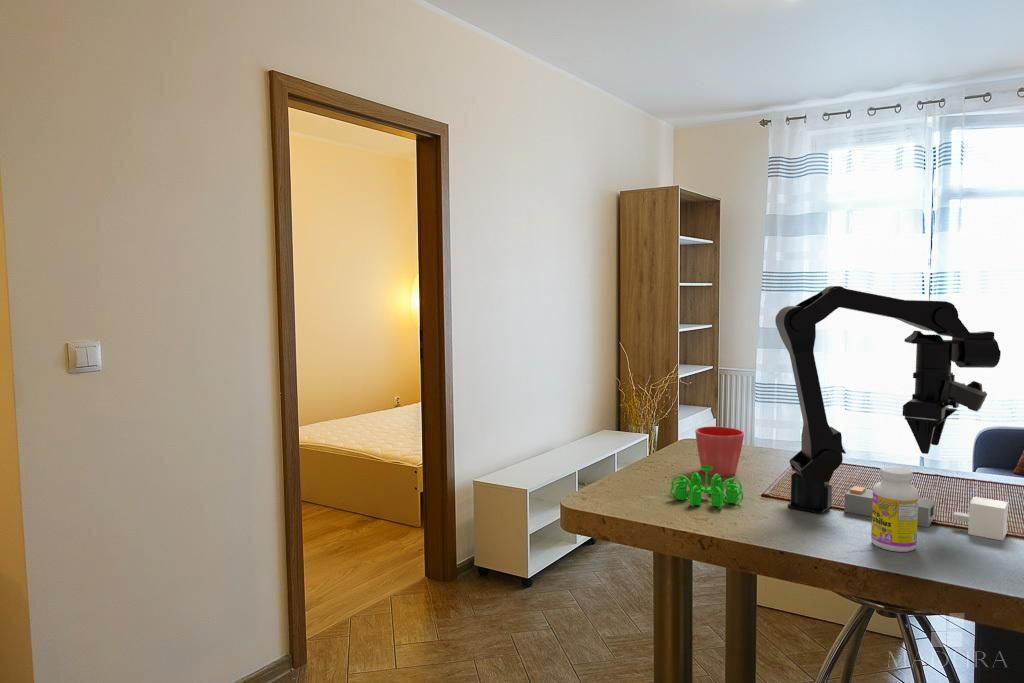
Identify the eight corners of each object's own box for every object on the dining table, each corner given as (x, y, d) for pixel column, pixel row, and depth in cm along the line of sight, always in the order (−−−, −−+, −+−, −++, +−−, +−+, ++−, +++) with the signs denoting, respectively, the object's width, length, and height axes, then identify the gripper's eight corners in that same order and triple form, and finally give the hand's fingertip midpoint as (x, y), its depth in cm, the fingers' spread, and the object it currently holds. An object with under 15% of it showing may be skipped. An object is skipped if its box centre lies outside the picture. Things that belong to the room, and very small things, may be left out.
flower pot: (749, 477, 159) (750, 435, 158) (701, 478, 159) (701, 435, 158) (735, 466, 170) (736, 426, 169) (689, 466, 170) (690, 426, 169)
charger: (950, 530, 124) (952, 500, 124) (955, 523, 128) (956, 493, 127) (1003, 540, 119) (1004, 508, 119) (1006, 533, 123) (1008, 502, 122)
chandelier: (755, 497, 145) (756, 464, 144) (728, 517, 133) (729, 481, 133) (686, 485, 154) (687, 454, 154) (655, 502, 142) (656, 468, 142)
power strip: (844, 511, 135) (845, 490, 134) (853, 504, 139) (854, 483, 139) (928, 527, 126) (928, 505, 125) (934, 519, 130) (935, 497, 130)
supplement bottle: (862, 539, 120) (865, 465, 119) (899, 538, 121) (902, 464, 120) (886, 554, 113) (889, 475, 112) (925, 552, 114) (928, 474, 113)
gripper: (976, 375, 120) (972, 465, 122) (991, 365, 135) (987, 446, 136) (903, 370, 128) (900, 455, 129) (925, 362, 142) (922, 438, 143)
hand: (930, 449), depth 134 cm, fingers open, 9 cm apart
